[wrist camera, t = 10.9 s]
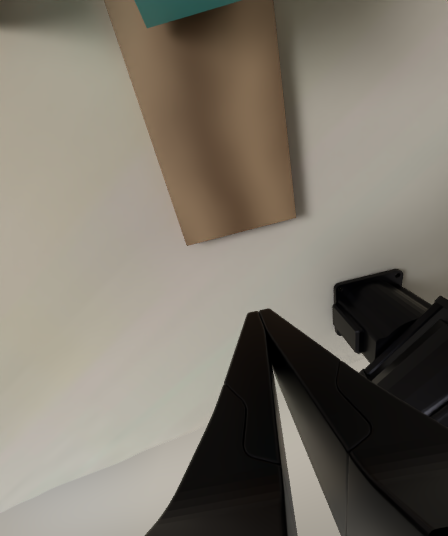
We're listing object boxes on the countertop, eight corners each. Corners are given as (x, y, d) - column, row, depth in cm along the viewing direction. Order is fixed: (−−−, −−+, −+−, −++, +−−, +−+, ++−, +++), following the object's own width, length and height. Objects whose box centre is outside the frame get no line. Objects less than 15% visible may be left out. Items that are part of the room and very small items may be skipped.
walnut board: (242, -208, 10) (246, -252, 9) (290, 214, 19) (296, 217, 18) (60, -145, 11) (43, -180, 10) (188, 241, 19) (186, 245, 18)
